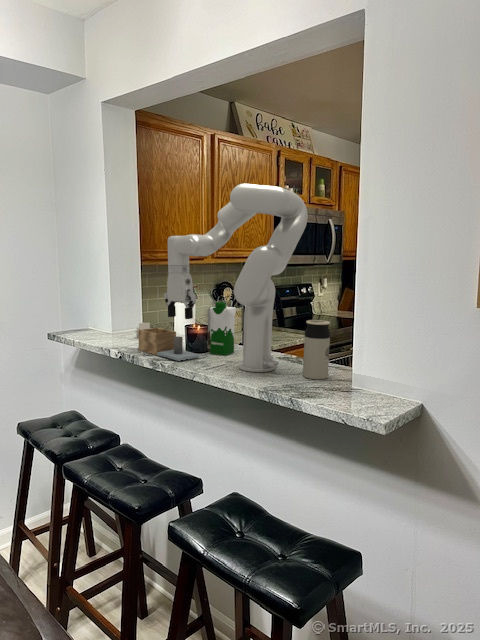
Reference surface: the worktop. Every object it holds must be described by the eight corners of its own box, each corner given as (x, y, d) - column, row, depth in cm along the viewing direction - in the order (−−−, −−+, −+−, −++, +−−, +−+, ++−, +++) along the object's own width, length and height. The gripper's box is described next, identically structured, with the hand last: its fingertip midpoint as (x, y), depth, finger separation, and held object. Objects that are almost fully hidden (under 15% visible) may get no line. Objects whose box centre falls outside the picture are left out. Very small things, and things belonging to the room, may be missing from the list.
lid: (199, 359, 174) (199, 338, 172) (178, 363, 167) (178, 341, 166) (177, 353, 182) (177, 333, 181) (157, 356, 175) (157, 336, 174)
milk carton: (206, 353, 182) (207, 302, 179) (217, 349, 190) (218, 300, 187) (227, 356, 178) (228, 303, 175) (237, 352, 186) (238, 301, 183)
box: (175, 351, 184) (176, 331, 183) (157, 355, 177) (157, 334, 176) (157, 347, 192) (157, 327, 191) (138, 350, 186) (138, 329, 184)
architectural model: (134, 339, 211) (134, 322, 210) (148, 337, 216) (148, 321, 215) (138, 340, 208) (138, 323, 207) (152, 338, 213) (152, 322, 212)
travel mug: (298, 376, 152) (300, 321, 149) (311, 372, 158) (313, 319, 155) (319, 381, 146) (322, 324, 144) (332, 376, 152) (335, 321, 150)
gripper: (202, 270, 167) (203, 318, 169) (172, 270, 178) (173, 315, 181) (186, 271, 161) (187, 320, 163) (155, 270, 173) (157, 317, 175)
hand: (180, 317), depth 172 cm, fingers open, 9 cm apart
